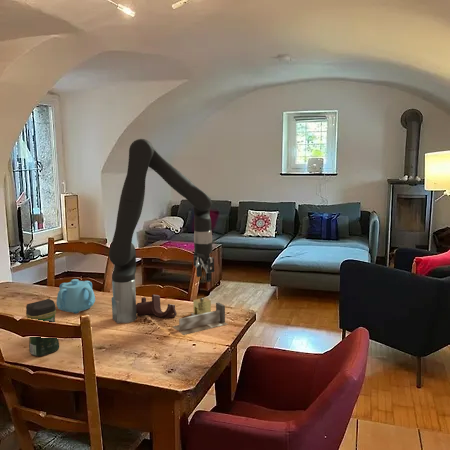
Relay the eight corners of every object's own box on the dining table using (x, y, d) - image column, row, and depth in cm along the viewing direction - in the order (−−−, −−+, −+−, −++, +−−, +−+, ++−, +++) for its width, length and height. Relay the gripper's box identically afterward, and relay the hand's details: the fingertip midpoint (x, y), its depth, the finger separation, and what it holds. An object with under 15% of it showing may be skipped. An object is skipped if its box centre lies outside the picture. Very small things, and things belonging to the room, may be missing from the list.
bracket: (172, 316, 189) (171, 291, 192) (135, 320, 194) (134, 297, 196) (178, 316, 195) (177, 293, 197) (142, 321, 200) (141, 298, 202)
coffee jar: (52, 344, 170) (48, 295, 166) (62, 350, 164) (59, 300, 161) (25, 352, 163) (21, 302, 160) (35, 359, 157) (31, 307, 154)
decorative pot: (60, 304, 213) (58, 275, 211) (96, 301, 216) (95, 273, 213) (54, 316, 197) (52, 286, 195) (93, 314, 200) (91, 283, 197)
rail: (183, 337, 175) (183, 317, 173) (172, 328, 183) (171, 309, 182) (228, 326, 185) (228, 307, 184) (215, 318, 193) (215, 300, 192)
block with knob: (198, 316, 193) (198, 301, 192) (193, 313, 197) (193, 298, 196) (210, 313, 196) (210, 298, 195) (205, 310, 200) (205, 295, 199)
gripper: (187, 239, 195) (188, 276, 198) (203, 245, 183) (203, 284, 186) (203, 237, 199) (203, 273, 202) (219, 243, 187) (220, 281, 190)
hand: (203, 279), depth 194 cm, fingers open, 8 cm apart
